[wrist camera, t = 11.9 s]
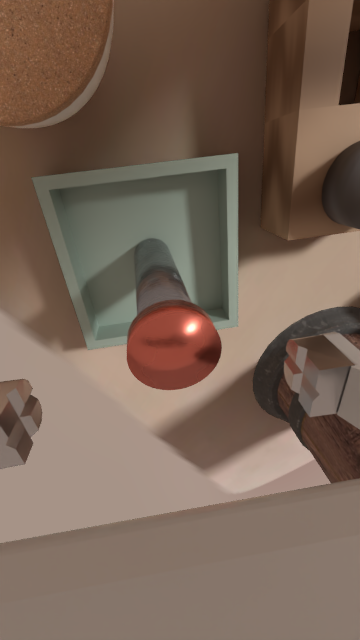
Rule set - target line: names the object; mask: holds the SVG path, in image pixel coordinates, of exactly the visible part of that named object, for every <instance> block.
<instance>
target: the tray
mask: <svg viewBox="0 0 360 640" xmlns="http://www.w3.org/2000/svg"><path fill="white" fill-rule="evenodd" d="M31 178H32V181H33V184H34V187H35V190H36V193H37V196H38V199H39V202H40V206H41V209H42V212H43V215H44V218H45V221H46V224H47V227H48V230H49V233H50V236H51V239H52V242H53V245H54V248H55V251H56V254H57V257H58V260H59V263H60V266H61V269H62V272H63V275H64V278H65V281H66V284H67V287H68V290H69V293H70V297H71V300H72V303H73V306H74V309H75V312H76V315H77V318H78V321H79V324H80V327H81V330H82V333H83V336H84V339H85V342H86V345H87V348H88V350H91V349H98V348H104V347H110V346H117V345H123V344H127V334H128V330H129V327H130V325H131V323H132V321H133V320H134V318H135V317H136V316H137V304H136V284H135V264H134V252H135V249H136V247H137V245H138V244H139V243H140V242H142V241H143V240H145V239H148V238H156V239H159V240H161V241H163V242H164V243H165V244H166V245H167V246H168V248H169V250H170V252H171V255H172V257H173V259H174V262H175V264H176V266H177V269H178V271H179V274H180V276H181V278H182V281H183V283H184V285H185V288H186V290H187V292H188V295H189V297H190V299H191V302H192V303H194V304H196V305H198V306H199V307H201V308H202V309H203V310H204V311H205V312H206V313H207V314H208V315H209V317H210V318H211V320H212V322H213V324H214V326H215V328H216V330H219V329H225V328H232V327H238V153H233V154H225V155H216V156H208V157H200V158H191V159H183V160H174V161H166V162H157V163H149V164H140V165H132V166H124V167H115V168H107V169H98V170H90V171H81V172H73V173H65V174H56V175H48V176H39V177H31Z"/></svg>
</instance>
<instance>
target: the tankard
mask: <svg viewBox="0 0 360 640" xmlns="http://www.w3.org/2000/svg"><path fill="white" fill-rule="evenodd" d="M331 332H337V333H340V334H341V335H342V336H343V337H345V338H346V339H347V340H348V341H349V342H350V343H352V344H353V345H354V346H355V347H356V348H357V349H359V350H360V308H356V307H335V308H331V309H326V310H321V311H319V312H316V313H314V314H311V315H308V316H306V317H304V318H302V319H301V320H299V321H297V322H295V323H293V324H292V325H291V326H289V327H288V328H287V329H285V330H284V331H283V332H281V333H280V334H279V335H278V336H277V337H276V338H275V339H274V340H273V341H272V342H271V343H270V344H269V345H268V347H267V348H266V350H265V351H264V353H263V354H262V356H261V357H260V359H259V362H258V364H257V366H256V368H255V373H254V377H253V391H254V394H255V398H256V400H257V402H258V403H259V405H260V406H261V408H263V409H264V410H265V411H266V412H267V413H269V414H271V415H273V416H275V417H277V418H280V419H282V420H284V421H286V422H289V423H290V426H291V428H292V429H293V431H294V432H295V434H296V436H297V437H298V439H299V440H300V442H301V443H302V445H303V446H304V447H306V448H307V449H308V450H310V452H311V453H312V455H313V456H314V458H315V459H316V461H317V462H318V464H319V465H320V467H321V468H322V470H323V472H324V473H325V475H326V476H327V478H328V479H329V481H330V482H331V483H337V482H342V481H348V480H353V479H359V478H360V429H358V428H357V427H355V426H354V425H352V424H351V423H349V422H347V421H346V420H344V419H343V418H341V417H340V416H338V415H337V414H338V413H336V414H329V415H322V416H314V417H309V416H308V414H307V413H306V411H305V410H304V408H303V407H302V405H301V404H300V402H299V401H298V399H299V394H298V393H296V392H295V391H293V390H291V388H290V387H289V385H288V383H287V381H286V379H285V374H284V361H285V360H286V359H287V358H288V357H289V354H288V353H287V351H286V346H287V342H288V341H289V340H291V339H297V338H304V337H310V336H317V335H320V334H326V333H331Z"/></svg>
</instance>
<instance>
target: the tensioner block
mask: <svg viewBox="0 0 360 640" xmlns="http://www.w3.org/2000/svg"><path fill="white" fill-rule="evenodd" d="M354 31H360V0H269V19H268V45H267V71H266V96H265V122H264V148H263V174H262V200H261V225H260V228H262V229H265V230H267V231H269V232H271V233H273V234H275V235H277V236H279V237H281V238H283V239H285V240H287V241H289V240H296V239H304V238H311V237H318V236H325V235H332V234H339V233H347V232H354V231H360V72H359V78H358V84H357V90H356V96H355V103H354V104H347V105H339V98H340V91H341V84H342V77H343V70H344V63H345V56H346V49H347V42H348V35H349V32H354Z"/></svg>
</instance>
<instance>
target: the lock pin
mask: <svg viewBox="0 0 360 640" xmlns="http://www.w3.org/2000/svg"><path fill="white" fill-rule="evenodd" d="M134 264H135V284H136V304H137V316H136V317H135V318H134V320H133V321H132V323H131V325H130V327H129V330H128V334H127V362H128V366H129V368H130V370H131V372H132V374H133V375H134V376H135V377H136V378H137V379H138V380H139V381H141V382H142V383H144V384H145V385H147V386H150V387H152V388H156V389H162V390H176V389H182V388H186V387H189V386H192V385H194V384H196V383H198V382H200V381H201V380H203V379H204V378H205V377H207V376H208V375H209V374H210V373H211V372H212V371H213V369H214V368H215V367H216V365H217V363H218V361H219V358H220V355H221V348H222V347H221V340H220V337H219V335H218V332H217V330H216V328H215V326H214V324H213V322H212V320H211V318H210V317H209V315H208V314H207V313H206V312H205V311H204V310H203V309H202V308H201V307H199V306H198V305H196V304H194V303H192V302H191V299H190V297H189V295H188V292H187V290H186V288H185V285H184V283H183V281H182V278H181V276H180V274H179V271H178V269H177V266H176V264H175V262H174V259H173V257H172V255H171V252H170V250H169V248H168V246H167V245H166V244H165V243H164V242H163V241H161V240H159V239H156V238H148V239H145V240H143V241H142V242H140V243H139V244H138V245H137V247H136V249H135V252H134Z"/></svg>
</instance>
